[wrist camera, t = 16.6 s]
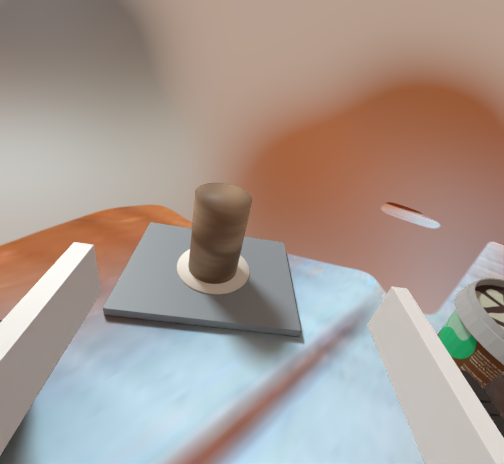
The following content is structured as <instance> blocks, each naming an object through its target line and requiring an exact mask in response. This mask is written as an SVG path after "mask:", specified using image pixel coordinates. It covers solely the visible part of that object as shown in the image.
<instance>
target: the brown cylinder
mask: <svg viewBox="0 0 504 464" xmlns="http://www.w3.org/2000/svg"><path fill="white" fill-rule="evenodd" d="M251 203H252V198H251V196H250V195H249V194H248V193H247V192H246V191H244V190H243V189H241V188H239V187H236V186H233V185H229V184H223V183H208V184H204V185H201V186H199V187H198V188H197V189H196V191H195V201H194V212H193V222H192V233H191V243H190V254H189V264H188V268H189V271H190V273H191V274H192V275H193V276H194V277H195V278H196V279H198V280H200V281H202V282H205V283H209V284H221V283H225V282H227V281H229V280H231V279H232V278H233V277H234V276H235V274H236V271H237V267H238V262H239V258H240V253H241V249H242V244H243V240H244V235H245V230H246V226H247V221H248V216H249V212H250V208H251Z"/></svg>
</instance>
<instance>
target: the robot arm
mask: <svg viewBox="0 0 504 464" xmlns="http://www.w3.org/2000/svg"><path fill="white" fill-rule="evenodd" d="M100 293H101V286H100V280H99V274H98V268H97V262H96V255H95V249H94V245H92V244H85V243H77V242H74V243H73V244H72V245H71V246H70V247H69V248H68V249H67V251H66V252H65V253H64V254H63V255H62V256H61V257H60V258H59V259H58V260H57V261H56V263H55V264H54V265H53V266H52V267H51V268H50V269H49V270H48V271H47V272H46V273H45V275H44V276H43V277H42V278H41V279H40V280H39V281H38V282H37V283H36V284H35V285H34V287H33V288H32V289H31V290H30V291H29V292H28V293H27V294H26V295H25V296H24V297H23V299H22V300H21V301H20V302H19V303H18V304H17V305H16V306H15V307H14V308H13V309H12V311H11V312H10V313H9V314H8V315H7V316H6V317H5V318H4V319H3V320H0V455H1V454H2V452H3V450H4V449H5V447H6V446H7V444H8V442H9V441H10V439H11V437H12V436H13V434H14V433H15V431H16V429H17V428H18V426H19V425H20V423H21V421H22V420H23V418H24V416H25V415H26V413H27V412H28V410H29V408H30V407H31V405H32V403H33V402H34V400H35V399H36V397H37V395H38V394H39V392H40V391H41V389H42V387H43V386H44V384H45V382H46V381H47V379H48V378H49V376H50V374H51V373H52V371H53V370H54V368H55V366H56V365H57V363H58V361H59V360H60V358H61V357H62V355H63V353H64V352H65V350H66V348H67V347H68V345H69V344H70V342H71V340H72V339H73V337H74V336H75V334H76V332H77V331H78V329H79V327H80V326H81V324H82V323H83V321H84V319H85V318H86V316H87V314H88V313H89V311H90V310H91V308H92V306H93V305H94V303H95V302H96V300H97V298H98V297H99V295H100ZM368 328H369V330H370V333H371V335H372V337H373V340H374V342H375V345H376V347H377V349H378V352H379V354H380V357H381V359H382V361H383V364H384V366H385V369H386V371H387V373H388V376H389V378H390V381H391V383H392V385H393V388H394V390H395V393H396V395H397V397H398V400H399V402H400V404H401V407H402V409H403V412H404V414H405V416H406V419H407V421H408V424H409V426H410V428H411V431H412V433H413V436H414V438H415V440H416V443H417V445H418V448H419V450H420V452H421V455H422V457H423V460H424V462H425V464H504V419H503V418H501V417H500V413H499V412H498V410H497V409H496V407H495V406H494V404H491V400H490V399H489V397H488V396H487V394H486V393H485V391H484V390H483V388H482V387H481V385H480V384H479V383H478V382H477V381H476V380H475V379H474V378H473V377H472V376H471V375H470V374H469V373H468V372H467V371H463V370H459V368H458V367H457V365H456V363H455V362H454V360H453V359H452V357H451V356H450V354H449V353H448V351H447V349H446V348H445V346H444V345H443V343H442V342H441V340H440V339H439V337H438V336H437V334H436V332H435V331H434V329H433V328H432V326H431V325H430V323H429V322H428V320H427V319H426V317H425V315H424V314H423V312H422V311H421V309H420V308H419V306H418V305H417V303H416V301H415V300H414V298H413V297H412V295H411V294H410V292H409V291H408V289H406V288H398V287H391V289H390V290H389V292H388V293H387V295H386V296H385V298H384V299H383V301H382V303H381V304H380V306H379V307H378V309H377V310H376V312H375V314H374V315H373V317H372V318H371V320H370V321H369V323H368Z"/></svg>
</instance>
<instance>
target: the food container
mask: <svg viewBox="0 0 504 464" xmlns="http://www.w3.org/2000/svg"><path fill="white" fill-rule="evenodd" d="M455 307H456V310H455V311H454V313H453V314H452V315H451V317H450V318H449V320H448V321H447V322H446V324H445V325H444V327H443V328H442V329H441V331H440V332H439V334H438V335H437V336H438V337H439V339H440V340H441V342H442V343H443V345H444V346H445V348H446V349H447V351H448V353H449V354H450V356H451V357H452V359H453V360H454V362H455V363H456V365H457V367H458V368H459V370H463V371H467V372H468V373H469V374H470V375H471V376H472V377H473V378H474V379H475V380H476V381H477V382H478V383H479V384H480V385H481V387H482V388H484V387H485V386H486V385H488V384H489V383H490V382H491V381H493V380H494V379H495V378H497V377H498V376H499V375H500V374H502V373H503V372H504V280H501V279H495V278H486V279H481V280H479V281H477V282H474V283H472V284H470V285H468V286H467V287H465V288H464V289H463V290H461V291H460V292H459V293H458V294H457V295H456V298H455Z"/></svg>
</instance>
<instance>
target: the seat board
mask: <svg viewBox="0 0 504 464" xmlns="http://www.w3.org/2000/svg"><path fill="white" fill-rule="evenodd" d="M191 233H192V229H191V228H185V227H178V226H171V225H165V224H158V223H152V222H151V223H150V224H149V226H148V228H147V230H146V232H145V233H144V235H143V237H142V239H141V241H140V242H139V244H138V246H137V248H136V250H135V251H134V253H133V255H132V257H131V259H130V260H129V262H128V264H127V266H126V268H125V269H124V271H123V273H122V275H121V277H120V279H119V280H118V282H117V284H116V286H115V288H114V289H113V291H112V293H111V295H110V297H109V298H108V300H107V302H106V304H105V306H104V307H103V311H104V315H110V316H119V317H128V318H137V319H146V320H155V321H164V322H173V323H182V324H191V325H200V326H209V327H218V328H227V329H236V330H245V331H254V332H263V333H272V334H280V335H289V336H299V334H300V331H301V329H300V324H299V318H298V313H297V308H296V303H295V298H294V293H293V287H292V282H291V277H290V272H289V267H288V262H287V256H286V251H285V246H284V243H283V242H276V241H269V240H263V239H257V238H250V237H244V240H243V244H242V249H241V253H240V258H239V262H238V267H237V271H236V274H235V276H234V277H233V278H232V279H231V280H229V281H227V282H225V283H221V284H209V283H205V282H202V281H200V280H198V279H196V278H195V277H194V276H193V275H192V274H191V273H190V271H189V268H188V264H189V254H190V243H191Z"/></svg>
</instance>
